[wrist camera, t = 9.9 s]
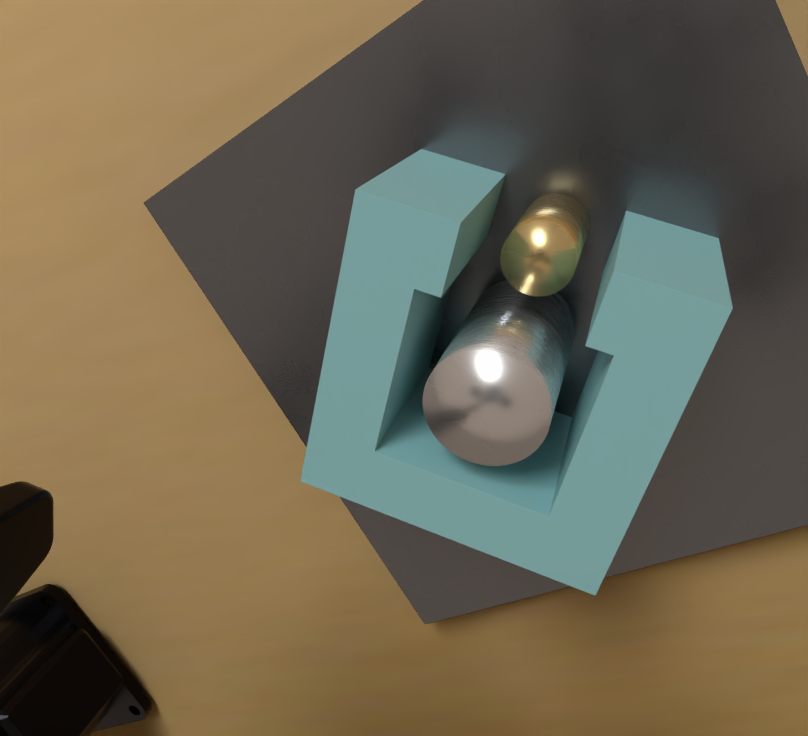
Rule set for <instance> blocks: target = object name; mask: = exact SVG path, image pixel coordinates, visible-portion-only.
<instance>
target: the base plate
mask: <svg viewBox="0 0 808 736" xmlns="http://www.w3.org/2000/svg"><path fill="white" fill-rule="evenodd" d="M420 149H423V150H427V151H430V152H433V153H437V154H440V155H443V156H447V157H450V158H453V159H457V160H460V161H463V162H467V163H470V164H473V165H477V166H480V167H483V168H487V169H490V170H493V171H497V172H500V173H503V174H506V175H505V178H504V182H503V185H502V189H501V192H500V196H499V199H498V203H497V206H496V210H495V213H494V217H493V220H492V224H491V227H490V231H489V234H488V237H487V238H486V239H485V241H484V242H483V243H482V245H481V246H480V247H479V248H478V250H477V251H476V252H475V254H474V255H473V256H472V258H471V259H470V260H469V262H468V263H467V264H466V266H465V267H464V268H463V269H462V271H461V272H460V273H459V275H458V276H457V277H456V279H455V280H454V281H453V283H452V285H451V288H450V292H449V296H448V300H447V303H446V307H445V311H444V314H443V318H442V322H441V326H440V329H439V333H438V337H437V340H436V344H435V348H434V351H433V355H432V359H431V363H430V366H429V368H432V369H433V371H432V373H431V374H430V376H429V378H428V380H427V382H426V384H425V387H424V392H423V411H424V415H425V419H426V421H427V424H428V426H429V428H430V430H431V431H432V433H433V434H434V436H435V437H436V438H437V440H438V441H439V442H440V443H441V444H442V445H443V446H444V447H445V448H447V449H448V450H449V451H450V452H452V453H453V454H455V455H457V456H458V457H460V458H462V459H465V460H467V461H469V462H473V463H476V464H481V465H487V466H502V465H508V464H512V463H516V462H518V461H520V460H523V459H525V458H526V457H528V456H530V455H531V454H532V453H533V452H535V451H536V450H537V449H538V448H539V447H540V445H541V444H542V443H543V441H544V440H545V438H546V436H547V434H548V431H549V427H550V424H551V420H552V417H553V413H554V411H555V412H558V413H561V414H563V415H566V416H569V417H572V416H573V413H574V411H575V408H576V406H577V403H578V400H579V398H580V395H581V393H582V390H583V388H584V385H585V383H586V380H587V378H588V375H589V372H590V370H591V367H592V365H593V362H594V360H595V357H596V355H597V352H598V350H596V349H593V348H590V347H587V346H585V345H586V341H587V337H588V332H589V328H590V324H591V320H592V316H593V312H594V308H595V304H596V299H597V295H598V291H599V287H600V283H601V279H602V275H603V271H604V269H605V266H606V263H607V261H608V258H609V255H610V253H611V250H612V247H613V245H614V242H615V239H616V237H617V234H618V231H619V229H620V226H621V223H622V221H623V218H624V215H625V212H626V211H630V212H633V213H636V214H640V215H643V216H646V217H650V218H653V219H656V220H660V221H663V222H666V223H670V224H673V225H676V226H680V227H683V228H686V229H690V230H693V231H696V232H700V233H703V234H706V235H710V236H713V237H716V238H719V242H720V247H721V252H722V257H723V262H724V267H725V272H726V277H727V282H728V287H729V292H730V297H731V301H732V306H733V309H732V311H731V313H730V315H729V317H728V319H727V321H726V323H725V325H724V328H723V330H722V332H721V334H720V336H719V338H718V340H717V342H716V344H715V346H714V348H713V351H712V353H711V355H710V357H709V359H708V361H707V363H706V365H705V367H704V369H703V372H702V374H701V376H700V378H699V380H698V382H697V384H696V386H695V388H694V390H693V392H692V395H691V397H690V399H689V401H688V403H687V405H686V407H685V409H684V411H683V413H682V415H681V418H680V420H679V422H678V424H677V426H676V428H675V430H674V432H673V434H672V436H671V438H670V441H669V443H668V445H667V447H666V449H665V451H664V453H663V455H662V457H661V459H660V461H659V464H658V466H657V468H656V470H655V472H654V474H653V476H652V478H651V480H650V482H649V485H648V487H647V489H646V491H645V493H644V495H643V497H642V499H641V501H640V503H639V505H638V508H637V510H636V512H635V514H634V516H633V518H632V520H631V522H630V524H629V526H628V528H627V531H626V533H625V535H624V537H623V539H622V541H621V543H620V545H619V547H618V549H617V551H616V554H615V556H614V558H613V560H612V562H611V564H610V566H609V568H608V570H607V572H606V575H605V577H609V576H613V575H617V574H620V573H624V572H628V571H632V570H636V569H640V568H644V567H647V566H651V565H655V564H659V563H663V562H667V561H670V560H674V559H678V558H682V557H686V556H690V555H694V554H697V553H701V552H705V551H709V550H713V549H717V548H720V547H724V546H728V545H732V544H736V543H740V542H744V541H747V540H751V539H755V538H759V537H763V536H767V535H770V534H774V533H778V532H782V531H786V530H790V529H794V528H797V527H801V526H805V525H808V76H807V74H806V71H805V69H804V67H803V64H802V62H801V60H800V57H799V55H798V53H797V50H796V48H795V45H794V43H793V41H792V38H791V36H790V34H789V31H788V29H787V27H786V24H785V22H784V20H783V17H782V15H781V12H780V10H779V8H778V5H777V3H776V1H775V0H423V1H422V2H420V3H419V4H418V5H416V6H415V7H414V8H412V9H411V10H409V11H408V12H407V13H405V14H404V15H402V16H401V17H400V18H398V19H397V20H396V21H394V22H393V23H391V24H390V25H389V26H387V27H386V28H384V29H383V30H382V31H380V32H379V33H378V34H376V35H375V36H373V37H372V38H371V39H369V40H368V41H366V42H365V43H364V44H362V45H361V46H360V47H358V48H357V49H355V50H354V51H353V52H351V53H350V54H349V55H347V56H346V57H344V58H343V59H342V60H340V61H339V62H337V63H336V64H335V65H333V66H332V67H331V68H329V69H328V70H326V71H325V72H324V73H322V74H321V75H319V76H318V77H317V78H315V79H314V80H313V81H311V82H310V83H308V84H307V85H306V86H304V87H303V88H302V89H300V90H299V91H297V92H296V93H295V94H293V95H292V96H290V97H289V98H288V99H286V100H285V101H284V102H282V103H281V104H279V105H278V106H277V107H275V108H274V109H272V110H271V111H270V112H268V113H267V114H266V115H264V116H263V117H261V118H260V119H259V120H257V121H256V122H254V123H253V124H252V125H250V126H249V127H248V128H246V129H245V130H243V131H242V132H241V133H239V134H238V135H237V136H235V137H234V138H232V139H231V140H230V141H228V142H227V143H225V144H224V145H223V146H221V147H220V148H219V149H217V150H216V151H214V152H213V153H212V154H210V155H209V156H207V157H206V158H205V159H203V160H202V161H201V162H199V163H198V164H196V165H195V166H194V167H192V168H191V169H190V170H188V171H187V172H185V173H184V174H183V175H181V176H180V177H178V178H177V179H176V180H174V181H173V182H172V183H170V184H169V185H167V186H166V187H165V188H163V189H162V190H160V191H159V192H158V193H156V194H155V195H154V196H152V197H151V198H149V199H148V200H147V201H145V202H144V204H145V206H146V207H147V209H148V210H149V212H150V213H151V215H152V216H153V218H154V219H155V221H156V222H157V224H158V225H159V227H160V228H161V230H162V231H163V233H164V234H165V236H166V237H167V239H168V240H169V242H170V243H171V245H172V246H173V248H174V249H175V251H176V252H177V254H178V255H179V257H180V258H181V260H182V261H183V263H184V264H185V266H186V267H187V269H188V270H189V272H190V273H191V275H192V276H193V278H194V279H195V281H196V282H197V284H198V285H199V287H200V288H201V290H202V291H203V293H204V294H205V296H206V297H207V299H208V300H209V302H210V303H211V305H212V306H213V308H214V309H215V311H216V312H217V314H218V315H219V317H220V318H221V320H222V321H223V323H224V324H225V326H226V327H227V329H228V330H229V332H230V333H231V335H232V336H233V338H234V339H235V341H236V342H237V344H238V345H239V347H240V348H241V350H242V351H243V353H244V354H245V356H246V357H247V359H248V360H249V362H250V363H251V365H252V366H253V368H254V369H255V371H256V372H257V374H258V375H259V377H260V378H261V380H262V381H263V383H264V384H265V386H266V387H267V389H268V390H269V392H270V393H271V395H272V396H273V398H274V399H275V401H276V402H277V404H278V405H279V407H280V408H281V410H282V411H283V413H284V414H285V416H286V417H287V419H288V420H289V422H290V423H291V425H292V426H293V428H294V429H295V431H296V432H297V434H298V435H299V437H300V438H301V440H302V441H303V443H304V444H305V446H306V447H307V444H308V438H309V433H310V428H311V422H312V417H313V412H314V406H315V401H316V396H317V391H318V385H319V380H320V375H321V369H322V364H323V359H324V353H325V348H326V343H327V338H328V332H329V327H330V322H331V316H332V311H333V306H334V300H335V295H336V290H337V284H338V279H339V274H340V269H341V263H342V258H343V253H344V247H345V242H346V237H347V231H348V226H349V221H350V216H351V210H352V205H353V200H354V194H355V189H357V188H358V187H360V186H362V185H363V184H365V183H367V182H368V181H370V180H371V179H373V178H375V177H376V176H378V175H380V174H381V173H383V172H384V171H386V170H388V169H389V168H391V167H393V166H394V165H396V164H398V163H399V162H401V161H402V160H404V159H406V158H407V157H409V156H411V155H412V154H414V153H416V152H417V151H419V150H420ZM340 498H341V499H342V501H343V502H344V504H345V505H346V507H347V508H348V510H349V511H350V513H351V514H352V516H353V517H354V519H355V520H356V522H357V523H358V525H359V526H360V528H361V529H362V531H363V532H364V534H365V535H366V537H367V538H368V540H369V541H370V543H371V544H372V546H373V547H374V549H375V550H376V552H377V553H378V555H379V556H380V558H381V559H382V561H383V562H384V564H385V565H386V567H387V568H388V570H389V571H390V573H391V574H392V576H393V577H394V579H395V580H396V582H397V583H398V585H399V586H400V588H401V589H402V591H403V592H404V594H405V595H406V597H407V598H408V600H409V601H410V603H411V604H412V606H413V607H414V609H415V610H416V612H417V613H418V615H419V616H420V618H421V619H422V621H423V622H424V624H428V623H432V622H436V621H440V620H444V619H447V618H451V617H455V616H459V615H463V614H467V613H470V612H474V611H478V610H482V609H486V608H490V607H494V606H497V605H501V604H505V603H509V602H513V601H517V600H520V599H524V598H528V597H532V596H536V595H540V594H544V593H547V592H551V591H555V590H559V589H563V588H567V587H570V586H569V585H566V584H564V583H561V582H559V581H556V580H554V579H551V578H548V577H546V576H543V575H541V574H538V573H536V572H533V571H530V570H528V569H525V568H523V567H520V566H518V565H515V564H512V563H510V562H507V561H505V560H502V559H500V558H497V557H494V556H492V555H489V554H487V553H484V552H482V551H479V550H476V549H474V548H471V547H469V546H466V545H464V544H461V543H458V542H456V541H453V540H451V539H448V538H446V537H443V536H440V535H438V534H435V533H433V532H430V531H427V530H425V529H422V528H420V527H417V526H415V525H412V524H409V523H407V522H404V521H402V520H399V519H397V518H394V517H391V516H389V515H386V514H384V513H381V512H379V511H376V510H373V509H371V508H368V507H366V506H363V505H361V504H358V503H355V502H353V501H350V500H348V499H345V498H343V497H340ZM605 577H604V578H605Z"/></svg>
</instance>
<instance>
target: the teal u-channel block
mask: <svg viewBox="0 0 808 736" xmlns="http://www.w3.org/2000/svg"><path fill="white" fill-rule="evenodd" d="M505 175H506V174H503V173H500V172H497V171H493V170H490V169H487V168H483V167H480V166H477V165H473V164H470V163H467V162H463V161H460V160H457V159H453V158H450V157H447V156H443V155H440V154H437V153H433V152H430V151H427V150H423V149H420V150H419V151H417V152H416V153H414V154H412V155H411V156H409V157H407V158H406V159H404V160H402V161H401V162H399V163H398V164H396V165H394V166H393V167H391V168H389V169H388V170H386V171H384V172H383V173H381V174H380V175H378V176H376V177H375V178H373V179H371V180H370V181H368V182H367V183H365V184H363V185H362V186H360V187H358V188H357V189H355V194H354V200H353V205H352V210H351V216H350V221H349V226H348V231H347V237H346V242H345V247H344V253H343V258H342V263H341V269H340V274H339V279H338V284H337V290H336V295H335V300H334V306H333V311H332V316H331V322H330V327H329V332H328V338H327V343H326V348H325V353H324V359H323V364H322V369H321V375H320V380H319V385H318V391H317V396H316V401H315V406H314V412H313V417H312V422H311V428H310V433H309V438H308V444H307V449H306V454H305V460H304V465H303V470H302V475H301V482H304V483H307V484H309V485H312V486H314V487H317V488H319V489H322V490H325V491H327V492H330V493H332V494H335V495H337V496H340V497H343V498H345V499H348V500H350V501H353V502H355V503H358V504H361V505H363V506H366V507H368V508H371V509H373V510H376V511H379V512H381V513H384V514H386V515H389V516H391V517H394V518H397V519H399V520H402V521H404V522H407V523H409V524H412V525H415V526H417V527H420V528H422V529H425V530H427V531H430V532H433V533H435V534H438V535H440V536H443V537H446V538H448V539H451V540H453V541H456V542H458V543H461V544H464V545H466V546H469V547H471V548H474V549H476V550H479V551H482V552H484V553H487V554H489V555H492V556H494V557H497V558H500V559H502V560H505V561H507V562H510V563H512V564H515V565H518V566H520V567H523V568H525V569H528V570H530V571H533V572H536V573H538V574H541V575H543V576H546V577H548V578H551V579H554V580H556V581H559V582H561V583H564V584H566V585H569V586H572V587H574V588H577V589H579V590H582V591H584V592H587V593H590V594H592V595H596V593H597V591H598V589H599V587H600V585H601V583H602V581H603V579H604V577H605V575H606V572H607V570H608V568H609V566H610V564H611V562H612V560H613V558H614V556H615V554H616V551H617V549H618V547H619V545H620V543H621V541H622V539H623V537H624V535H625V533H626V531H627V528H628V526H629V524H630V522H631V520H632V518H633V516H634V514H635V512H636V510H637V508H638V505H639V503H640V501H641V499H642V497H643V495H644V493H645V491H646V489H647V487H648V485H649V482H650V480H651V478H652V476H653V474H654V472H655V470H656V468H657V466H658V464H659V461H660V459H661V457H662V455H663V453H664V451H665V449H666V447H667V445H668V443H669V441H670V438H671V436H672V434H673V432H674V430H675V428H676V426H677V424H678V422H679V420H680V418H681V415H682V413H683V411H684V409H685V407H686V405H687V403H688V401H689V399H690V397H691V395H692V392H693V390H694V388H695V386H696V384H697V382H698V380H699V378H700V376H701V374H702V372H703V369H704V367H705V365H706V363H707V361H708V359H709V357H710V355H711V353H712V351H713V348H714V346H715V344H716V342H717V340H718V338H719V336H720V334H721V332H722V330H723V328H724V325H725V323H726V321H727V319H728V317H729V315H730V313H731V311H732V309H733V306H732V301H731V297H730V292H729V287H728V282H727V277H726V272H725V267H724V262H723V257H722V252H721V247H720V242H719V238H716V237H713V236H710V235H706V234H703V233H700V232H696V231H693V230H690V229H686V228H683V227H680V226H676V225H673V224H670V223H666V222H663V221H660V220H656V219H653V218H650V217H646V216H643V215H640V214H636V213H633V212H630V211H626V212H625V215H624V218H623V221H622V223H621V226H620V229H619V231H618V234H617V237H616V239H615V242H614V245H613V247H612V250H611V253H610V255H609V258H608V261H607V263H606V266H605V269H604V271H603V275H602V279H601V283H600V287H599V291H598V295H597V299H596V304H595V308H594V312H593V316H592V320H591V324H590V328H589V332H588V337H587V341H586V345H585V346H587V347H590V348H593V349H596V350H598V352H597V355H596V357H595V360H594V362H593V365H592V367H591V370H590V372H589V375H588V378H587V380H586V383H585V385H584V388H583V390H582V393H581V395H580V398H579V400H578V403H577V406H576V408H575V411H574V413H573V416H572V417H569V416H566V415H563V414H561V413H558V412H555V411H554V413H553V417H552V420H551V424H550V427H549V431H548V434H547V436H546V438H545V440H544V441H543V443H542V444H541V445H540V447H539V448H538V449H537V450H536V451H535V452H533V453H532V454H531V455H530V456H528V457H526V458H525V459H523V460H520V461H518V462H516V463H512V464H508V465H502V466H487V465H481V464H476V463H473V462H469V461H467V460H465V459H462V458H460V457H458V456H457V455H455V454H453V453H452V452H450V451H449V450H448V449H447V448H445V447H444V446H443V445H442V444H441V443H440V442H439V441H438V440H437V438H436V437H435V436H434V434H433V433H432V431H431V430H430V428H429V426H428V424H427V421H426V419H425V415H424V411H423V392H424V387H425V384H426V382H427V380H428V378H429V376H430V374H431V373H432V371H433V369H432V368H429V366H430V363H431V359H432V355H433V351H434V348H435V344H436V340H437V337H438V333H439V329H440V326H441V322H442V318H443V314H444V311H445V307H446V303H447V300H448V296H449V292H450V288H451V285H452V283H453V281H454V280H455V279H456V277H457V276H458V275H459V273H460V272H461V271H462V269H463V268H464V267H465V266H466V264H467V263H468V262H469V260H470V259H471V258H472V256H473V255H474V254H475V252H476V251H477V250H478V248H479V247H480V246H481V245H482V243H483V242H484V241H485V239H486V238H487V237H488V234H489V231H490V227H491V224H492V220H493V217H494V213H495V210H496V206H497V203H498V199H499V196H500V192H501V189H502V185H503V182H504V178H505Z"/></svg>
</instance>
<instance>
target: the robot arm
mask: <svg viewBox="0 0 808 736" xmlns="http://www.w3.org/2000/svg"><path fill="white" fill-rule="evenodd" d="M52 542H53V497H52V496H51V494H50V492H48V491H47V490H44V489H42V488H40V487H37V486H35V485H33V484H30V483H27V482H22V481H21V482H15V483H11V484H8V485H4V486H1V487H0V736H90V734H91V733H92V732H94V731H98V730H102V729H106V728H110V727H114V726H119V725H123V724H127V723H131V722H135V721H140V720H143V719H145V717H146V716H147V715H148V713H149V712H150V711H151V708H152V705H151V702H150V701H149V699H148V698H147V697H146V696H145V694H144V693H143V692H142V691H141V689H140V688H139V687H138V686H137V684H136V683H135V682H134V681H133V679H132V678H131V677H130V676H129V674H128V673H127V672H126V671H125V669H124V668H123V667H122V666H121V664H120V663H119V662H118V661H117V659H116V658H115V657H114V656H113V654H112V653H111V652H110V651H109V649H108V648H107V647H106V646H105V644H104V643H103V642H102V641H101V639H100V638H99V637H98V636H97V634H96V633H95V632H94V631H93V629H92V628H91V627H90V626H89V624H88V623H87V622H86V621H85V619H84V618H83V617H82V616H81V614H80V613H79V612H78V611H77V609H76V608H75V607H74V606H73V604H72V603H71V602H70V601H69V599H68V598H67V597H66V596H65V594H64V593H63V592H62V591H61V590H60V589H59V588H58V587H56V586H55V585H52V584H46V585H43V586H41V587H38V588H36V589H33V590H31V591H28V592H26V593H23V594H21V595H18V596H16V595H17V593H18V592H19V591H20V590H21V588H22V587H23V586H24V585H25V583H26V582H27V581H28V579H29V578H30V577H31V576H32V574H33V573H34V572H35V570H36V569H37V568H38V567H39V565H40V564H41V563H42V562H43V560H44V559H45V558H46V556H47V554H48V553H49V551H50V549H51V546H52ZM15 596H16V597H15Z"/></svg>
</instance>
